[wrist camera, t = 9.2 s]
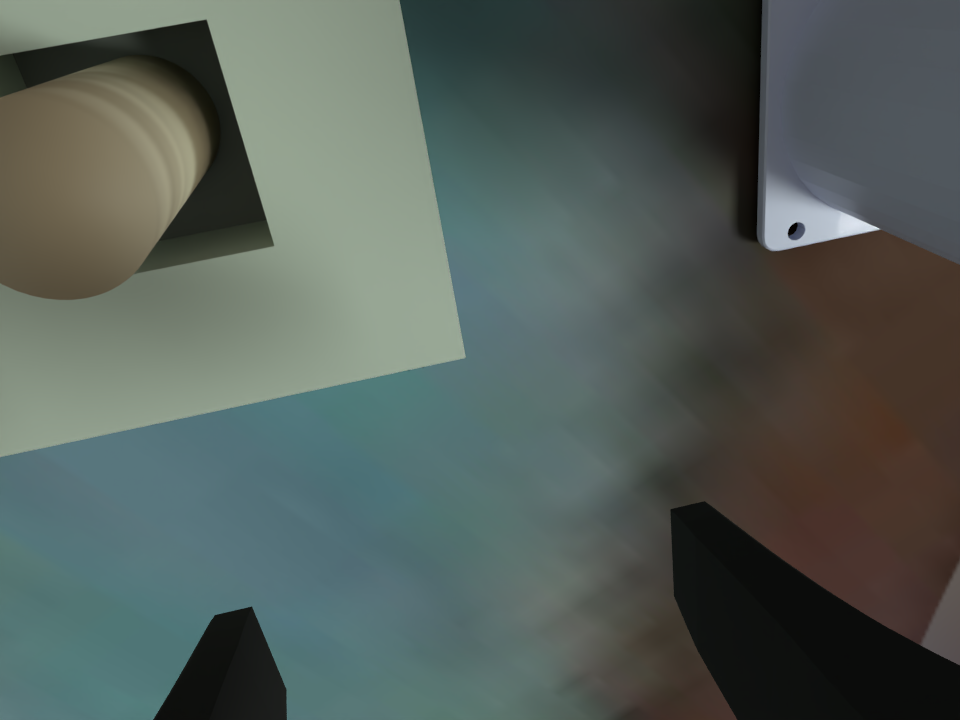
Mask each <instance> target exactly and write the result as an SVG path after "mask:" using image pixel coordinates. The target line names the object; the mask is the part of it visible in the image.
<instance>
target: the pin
mask: <svg viewBox="0 0 960 720" xmlns="http://www.w3.org/2000/svg"><path fill="white" fill-rule="evenodd" d="M220 136H221V130H220V121H219V117H218V113H217V110H216V108H215V105H214V103H213V101H212V99H211V97H210V96H209V94H208V93H207V91H206V90H205V88H204V87H203V86H202V85H201V83H200V82H199V81H198V80H197V79H196V78H195V77H194V76H193V75H191V74H190V73H189V72H187V71H186V70H185V69H183V68H182V67H180V66H178V65H177V64H175V63H172V62H170V61H168V60H165V59H162V58H159V57H155V56H149V55H130V56H125V57H120V58H117V59H114V60H111V61H108V62H105V63H102V64H99V65H96V66H93V67H90V68H87V69H84V70H81V71H78V72H75V73H72V74H69V75H66V76H63V77H60V78H57V79H54V80H51V81H48V82H45V83H42V84H39V85H36V86H33V87H30V88H27V89H24V90H21V91H18V92H15V93H12V94H9V95H6V96H3V97H0V283H1V284H2V285H4V286H7V287H9V288H11V289H13V290H16V291H18V292H22V293H25V294H28V295H31V296H36V297H40V298H45V299H55V300H76V299H84V298H89V297H93V296H97V295H100V294H103V293H105V292H108V291H110V290H112V289H114V288H116V287H117V286H119V285H121V284H122V283H124V282H125V281H126V280H127V279H129V278H130V277H131V276H132V275H133V274H134V273H135V272H136V271H137V270H138V269H139V267H140V266H141V265H142V263H143V262H144V260H145V259H146V258H147V256H148V255H149V253H150V252H151V250H152V249H153V248H154V246H155V245H156V243H157V242H158V240H159V239H160V238H161V236H162V235H163V233H164V232H165V230H166V229H167V228H168V226H169V225H170V223H171V222H172V220H173V219H174V218H175V216H176V215H177V213H178V212H179V210H180V209H181V208H182V206H183V205H184V203H185V202H186V201H187V199H188V198H189V196H190V195H191V193H192V192H193V191H194V189H195V188H196V186H197V185H198V183H199V182H200V181H201V179H202V178H203V176H204V175H205V173H206V172H207V171H208V169H209V168H210V166H211V165H212V163H213V162H214V160H215V158H216V155H217V152H218V149H219V145H220Z"/></svg>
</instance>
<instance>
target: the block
mask: <svg viewBox="0 0 960 720" xmlns="http://www.w3.org/2000/svg"><path fill="white" fill-rule="evenodd" d="M130 55H149V56H155V57H159V58H162V59H165V60H168V61H170V62H172V63H175V64H177V65H178V66H180V67H182V68H183V69H185V70H186V71H187V72H189V73H190V74H191V75H193V76H194V77H195V78H196V79H197V80H198V81H199V82H200V83H201V85H202V86H203V87H204V88H205V90H206V91H207V93H208V94H209V96H210V97H211V99H212V101H213V103H214V105H215V108H216V110H217V113H218V117H219V121H220V130H221V136H220V145H219V149H218V152H217V155H216V158H215V160H214V162H213V163H212V165H211V166H210V168H209V169H208V171H207V172H206V173H205V175H204V176H203V178H202V179H201V181H200V182H199V183H198V185H197V186H196V188H195V189H194V191H193V192H192V193H191V195H190V196H189V198H188V199H187V201H186V202H185V203H184V205H183V206H182V208H181V209H180V210H179V212H178V213H177V215H176V216H175V218H174V219H173V220H172V222H171V223H170V225H169V226H168V228H167V229H166V230H165V232H164V233H163V235H162V236H161V238H160V239H159V240H158V242H157V243H156V245H155V246H154V248H153V249H152V250H151V252H150V253H149V255H148V256H147V258H146V259H145V260H144V262H143V263H142V265H141V266H140V267H139V269H138V270H137V271H136V272H135V273H134V274H133V275H132V276H131V277H130V278H129V279H127V280H126V281H125V282H124V283H122V284H121V285H119V286H117V287H116V288H114V289H112V290H110V291H108V292H105V293H103V294H100V295H97V296H93V297H89V298H84V299H76V300H55V299H45V298H40V297H36V296H31V295H28V294H25V293H22V292H18V291H16V290H13V289H11V288H9V287H7V286H4V285H2V284H1V283H0V457H2V456H7V455H12V454H17V453H21V452H26V451H31V450H35V449H40V448H45V447H49V446H54V445H59V444H63V443H68V442H73V441H78V440H82V439H87V438H92V437H96V436H101V435H106V434H110V433H115V432H120V431H124V430H129V429H134V428H139V427H143V426H148V425H153V424H157V423H162V422H167V421H171V420H176V419H181V418H186V417H190V416H195V415H200V414H204V413H209V412H214V411H218V410H223V409H228V408H232V407H237V406H242V405H247V404H251V403H256V402H261V401H265V400H270V399H275V398H279V397H284V396H289V395H293V394H298V393H303V392H308V391H312V390H317V389H322V388H326V387H331V386H336V385H340V384H345V383H350V382H354V381H359V380H364V379H369V378H373V377H378V376H383V375H387V374H392V373H397V372H401V371H406V370H411V369H415V368H420V367H425V366H430V365H434V364H439V363H444V362H448V361H453V360H458V359H462V358H466V357H465V351H464V346H463V341H462V335H461V330H460V324H459V319H458V314H457V308H456V303H455V297H454V292H453V287H452V281H451V276H450V270H449V265H448V260H447V254H446V249H445V244H444V238H443V233H442V227H441V222H440V217H439V211H438V206H437V200H436V195H435V190H434V184H433V179H432V173H431V168H430V163H429V157H428V152H427V146H426V141H425V136H424V130H423V125H422V119H421V114H420V109H419V103H418V98H417V92H416V87H415V82H414V76H413V71H412V65H411V60H410V55H409V49H408V44H407V38H406V33H405V28H404V22H403V17H402V11H401V6H400V1H399V0H0V97H3V96H6V95H9V94H12V93H15V92H18V91H21V90H24V89H27V88H30V87H33V86H36V85H39V84H42V83H45V82H48V81H51V80H54V79H57V78H60V77H63V76H66V75H69V74H72V73H75V72H78V71H81V70H84V69H87V68H90V67H93V66H96V65H99V64H102V63H105V62H108V61H111V60H114V59H117V58H120V57H125V56H130Z"/></svg>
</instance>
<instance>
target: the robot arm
mask: <svg viewBox="0 0 960 720" xmlns="http://www.w3.org/2000/svg"><path fill="white" fill-rule="evenodd" d="M796 222H797V224H798V227H797V230H796V231H795V232H794V234H792V235H790V236H788V230H789V228H790V226H791V225H792V224H794V223H796ZM876 230H884V231H886V232H888V233H890V234H893V235H895V236H897V237H899V238H901V239H904V240H906V241H908V242H910V243H913V244H915V245H917V246H919V247H922V248H924V249H926V250H928V251H931V252H933V253H935V254H937V255H939V256H942V257H944V258H946V259H948V260H951V261H953V262H955V263H957V264H960V0H762V37H761V80H760V122H759V164H758V207H757V238H758V241H759V243H760V244H761V245H762V246H763V247H765V248H767V249H769V250H771V251H780V250H785V249H790V248H794V247H799V246H804V245H809V244H814V243H818V242H823V241H828V240H833V239H837V238H842V237H847V236H852V235H857V234H861V233H866V232H871V231H876ZM671 533H672V557H673V581H674V597H675V599H676V602H677V604H678V606H679V609H680V611H681V613H682V616H683V618H684V621H685V623H686V625H687V628H688V630H689V632H690V634H691V637H692V639H693V641H694V643H695V646H696V648H697V650H698V652H699V654H700V655H701V657H702V659H703V661H704V663H705V664H706V666H707V668H708V670H709V671H710V673H711V675H712V677H713V678H714V680H715V682H716V683H717V685H718V687H719V689H720V690H721V692H722V694H723V696H724V697H725V699H726V701H727V703H728V704H729V706H730V708H731V709H732V711H733V713H734V715H735V716H736V718H737V720H960V665H958V664H956V663H954V662H951V661H950V660H948V659H945V658H944V657H941V656H940V655H937V654H936V653H934V652H932V651H930V650H928V649H926V648H924V647H922V646H920V645H919V644H917V643H915V642H913V641H911V640H909V639H908V638H906V637H904V636H902V635H900V634H898V633H896V632H895V631H893V630H891V629H889V628H887V627H886V626H884V625H882V624H880V623H879V622H877V621H875V620H874V619H872V618H870V617H869V616H867V615H865V614H864V613H862V612H860V611H859V610H857V609H856V608H854V607H852V606H851V605H849V604H848V603H846V602H844V601H843V600H841V599H840V598H838V597H837V596H835V595H833V594H832V593H830V592H829V591H827V590H826V589H824V588H823V587H821V586H820V585H818V584H817V583H815V582H814V581H813V580H811V579H810V578H808V577H807V576H805V575H804V574H802V573H801V572H800V571H798V570H797V569H795V568H794V567H792V566H791V565H790V564H788V563H787V562H785V561H784V560H782V559H781V558H780V557H778V556H777V555H776V554H774V553H773V552H771V551H770V550H769V549H767V548H766V547H765V546H763V545H762V544H761V543H759V542H758V541H757V540H755V539H754V538H753V537H751V536H750V535H749V534H747V533H746V532H745V531H743V530H742V529H741V528H739V527H738V526H737V525H735V524H734V523H733V522H732V521H730V520H729V519H728V518H726V517H725V516H724V515H722V514H721V513H720V512H718V511H717V510H716V509H715V508H713V507H712V506H711V505H709V504H708V503H706V502H705V501H704V502H700V503H696V504H691V505H687V506H683V507H678V508H674V509H671ZM153 720H287V709H286V688H285V685H284V683H283V680H282V678H281V676H280V673H279V671H278V668H277V666H276V663H275V661H274V659H273V656H272V654H271V651H270V649H269V647H268V644H267V642H266V639H265V637H264V635H263V632H262V630H261V627H260V625H259V623H258V620H257V618H256V615H255V613H254V610H253V608H252V607H248V608H244V609H240V610H235V611H231V612H227V613H223V614H218V615H215V616H214V618H213V619H212V620H211V622H210V623H209V625H208V627H207V629H206V630H205V632H204V634H203V636H202V637H201V639H200V641H199V643H198V644H197V646H196V648H195V650H194V651H193V653H192V655H191V657H190V659H189V660H188V662H187V664H186V666H185V667H184V669H183V671H182V672H181V674H180V676H179V678H178V679H177V681H176V683H175V685H174V686H173V688H172V690H171V691H170V693H169V695H168V696H167V698H166V700H165V701H164V703H163V705H162V706H161V708H160V710H159V711H158V713H157V714H156V716H155V718H154V719H153Z"/></svg>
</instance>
